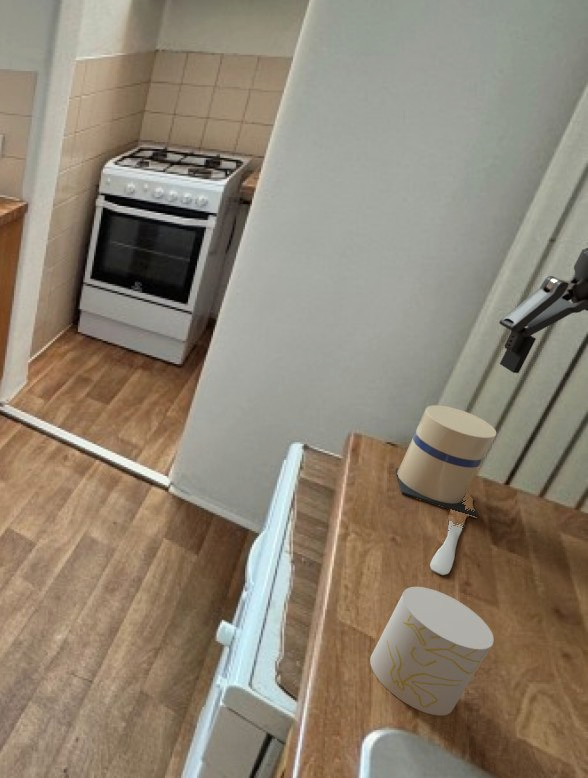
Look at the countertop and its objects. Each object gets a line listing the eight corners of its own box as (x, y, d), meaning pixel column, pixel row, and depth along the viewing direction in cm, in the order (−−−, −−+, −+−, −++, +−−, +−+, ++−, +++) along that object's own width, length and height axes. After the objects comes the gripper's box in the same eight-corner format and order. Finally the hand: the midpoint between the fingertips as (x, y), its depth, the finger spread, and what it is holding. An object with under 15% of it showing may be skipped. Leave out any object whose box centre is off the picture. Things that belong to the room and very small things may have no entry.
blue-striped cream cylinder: (439, 471, 113) (476, 507, 105) (385, 464, 115) (418, 499, 107) (470, 408, 108) (511, 441, 100) (413, 402, 110) (449, 433, 102)
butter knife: (421, 563, 94) (447, 575, 92) (457, 490, 109) (480, 500, 107) (420, 566, 94) (446, 578, 92) (456, 493, 110) (479, 502, 107)
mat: (467, 493, 109) (468, 490, 109) (477, 519, 103) (478, 517, 103) (395, 469, 114) (396, 467, 114) (401, 493, 109) (402, 491, 108)
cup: (366, 680, 78) (399, 615, 73) (373, 638, 83) (405, 575, 79) (452, 730, 72) (494, 663, 68) (454, 682, 78) (493, 617, 73)
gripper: (695, 252, 92) (626, 370, 99) (504, 238, 96) (452, 352, 104) (754, 271, 85) (675, 396, 92) (546, 255, 89) (487, 376, 97)
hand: (557, 373), depth 98 cm, fingers open, 13 cm apart
